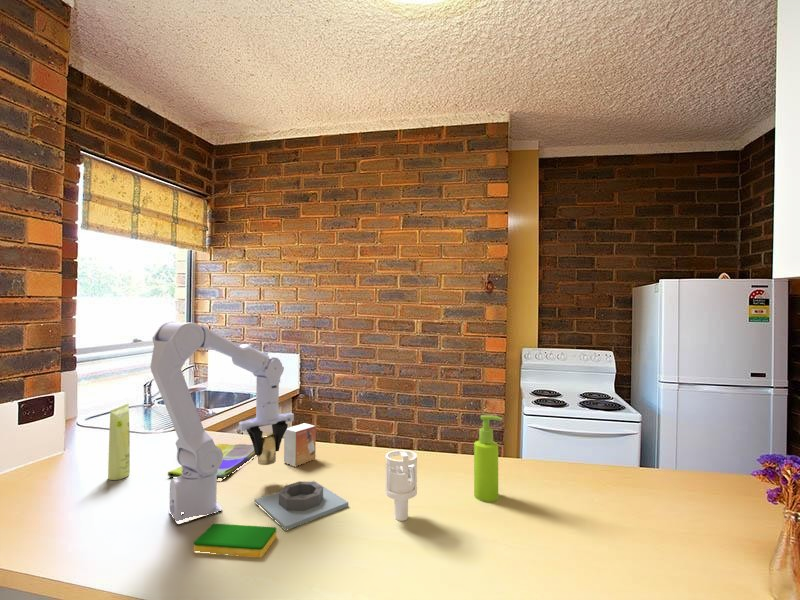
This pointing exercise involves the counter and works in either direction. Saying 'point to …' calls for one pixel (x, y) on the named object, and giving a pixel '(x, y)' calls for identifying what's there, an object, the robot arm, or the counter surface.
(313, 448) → the small box
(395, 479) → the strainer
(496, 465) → the soap dispenser
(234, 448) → the dish towel
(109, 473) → the tube
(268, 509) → the ring plate
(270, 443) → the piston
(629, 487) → the counter surface
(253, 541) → the dish sponge
